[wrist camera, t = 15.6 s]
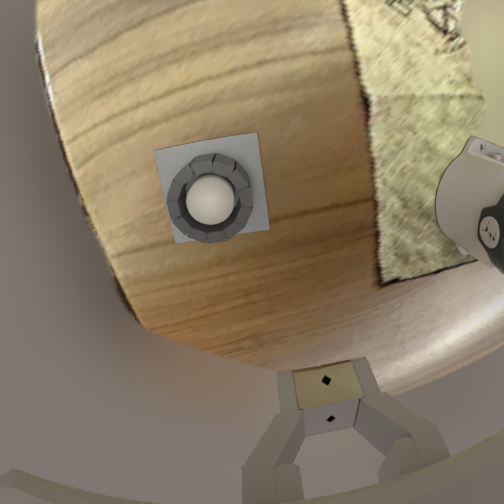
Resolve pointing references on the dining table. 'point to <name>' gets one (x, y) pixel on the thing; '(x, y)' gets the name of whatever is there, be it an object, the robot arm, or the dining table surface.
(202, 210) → the cap
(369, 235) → the dining table surface
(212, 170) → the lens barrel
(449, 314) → the dining table surface
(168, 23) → the dining table surface
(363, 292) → the dining table surface
